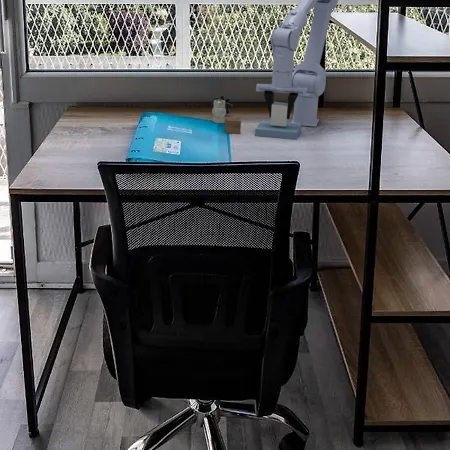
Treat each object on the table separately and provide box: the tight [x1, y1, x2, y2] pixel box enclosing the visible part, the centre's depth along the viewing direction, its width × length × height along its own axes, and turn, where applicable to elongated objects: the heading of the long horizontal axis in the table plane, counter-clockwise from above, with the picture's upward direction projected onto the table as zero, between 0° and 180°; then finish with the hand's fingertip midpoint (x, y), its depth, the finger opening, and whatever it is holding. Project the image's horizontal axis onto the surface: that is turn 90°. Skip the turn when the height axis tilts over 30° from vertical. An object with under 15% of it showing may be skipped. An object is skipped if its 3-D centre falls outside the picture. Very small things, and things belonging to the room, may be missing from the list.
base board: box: [254, 120, 302, 140], centre depth 243 cm, size 12×12×2 cm
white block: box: [270, 101, 289, 126], centre depth 241 cm, size 4×4×6 cm
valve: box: [211, 94, 233, 124], centre depth 257 cm, size 7×7×12 cm
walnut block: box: [224, 116, 242, 135], centre depth 241 cm, size 4×4×4 cm
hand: (279, 117), depth 242 cm, fingers closed on white block, 4 cm apart
